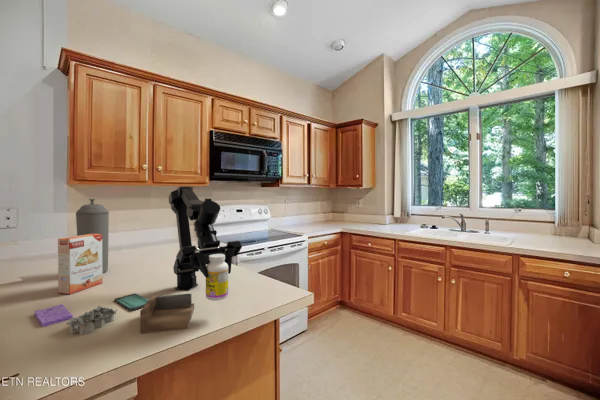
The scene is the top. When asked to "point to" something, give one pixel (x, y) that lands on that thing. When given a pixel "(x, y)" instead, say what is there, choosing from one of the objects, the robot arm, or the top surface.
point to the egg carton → (91, 320)
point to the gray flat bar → (173, 302)
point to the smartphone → (132, 302)
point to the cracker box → (79, 262)
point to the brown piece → (163, 317)
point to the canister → (94, 226)
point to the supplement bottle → (217, 278)
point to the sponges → (53, 315)
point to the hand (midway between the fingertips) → (218, 275)
